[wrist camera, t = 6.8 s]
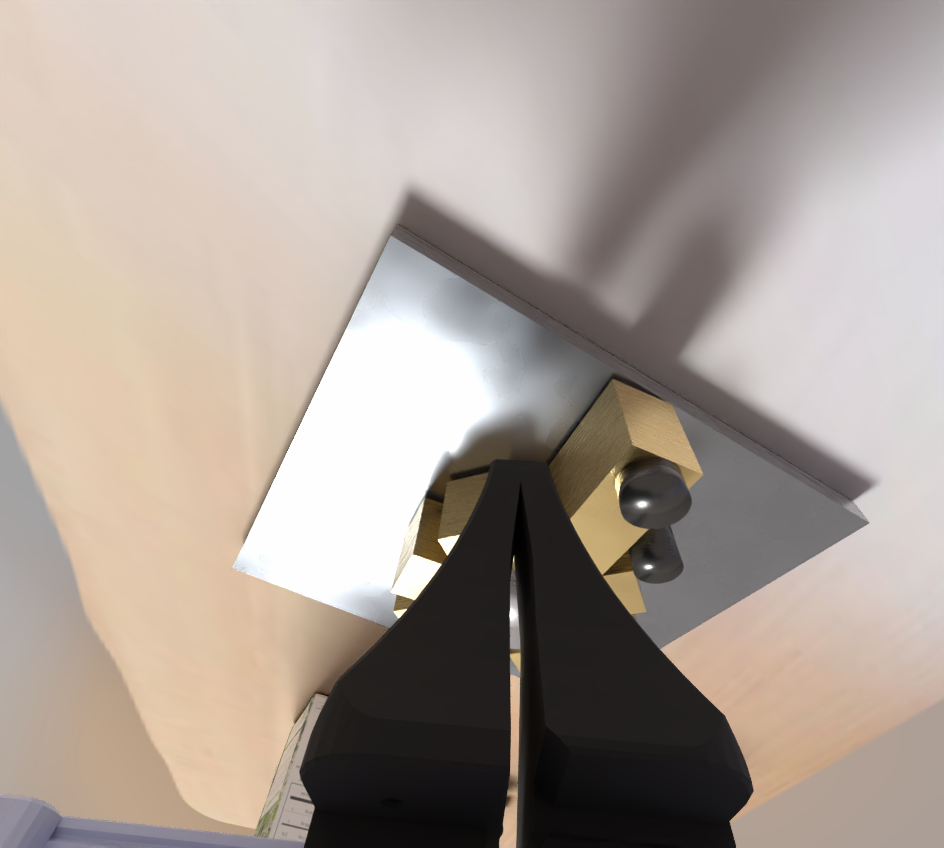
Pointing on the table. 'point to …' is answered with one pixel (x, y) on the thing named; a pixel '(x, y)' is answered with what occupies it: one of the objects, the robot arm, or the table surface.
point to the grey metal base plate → (504, 452)
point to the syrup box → (291, 784)
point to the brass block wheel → (581, 494)
